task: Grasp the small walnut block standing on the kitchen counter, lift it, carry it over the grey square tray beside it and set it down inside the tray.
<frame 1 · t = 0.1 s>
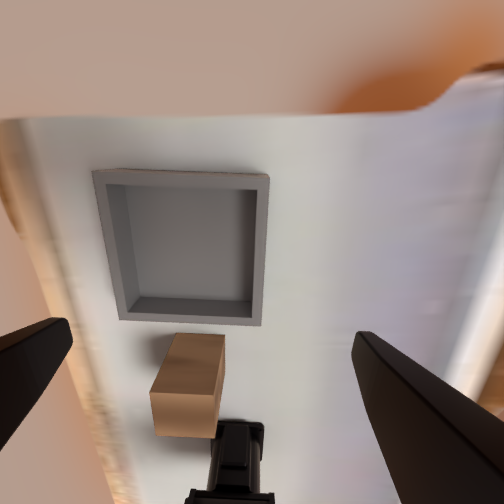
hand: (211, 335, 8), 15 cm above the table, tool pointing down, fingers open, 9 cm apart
grey square tray: (196, 242, 22), on the table
walnut block: (201, 352, 27), on the table
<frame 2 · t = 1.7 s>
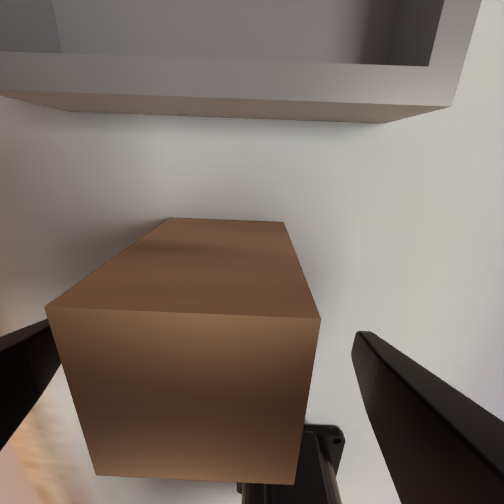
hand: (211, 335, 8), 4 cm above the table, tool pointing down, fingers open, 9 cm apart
walnut block: (226, 270, 12), on the table
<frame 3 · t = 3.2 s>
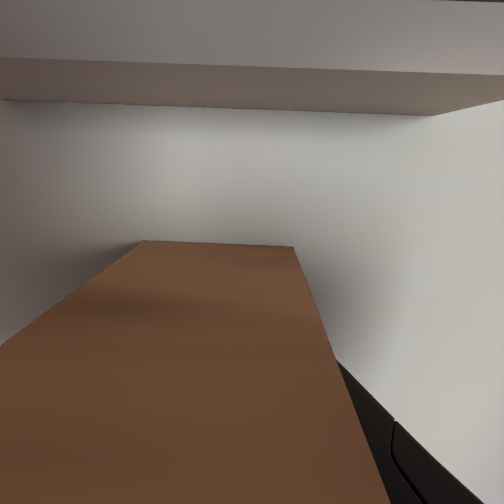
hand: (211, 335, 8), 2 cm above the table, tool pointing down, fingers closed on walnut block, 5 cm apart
walnut block: (218, 307, 9), on the table, touching gripper
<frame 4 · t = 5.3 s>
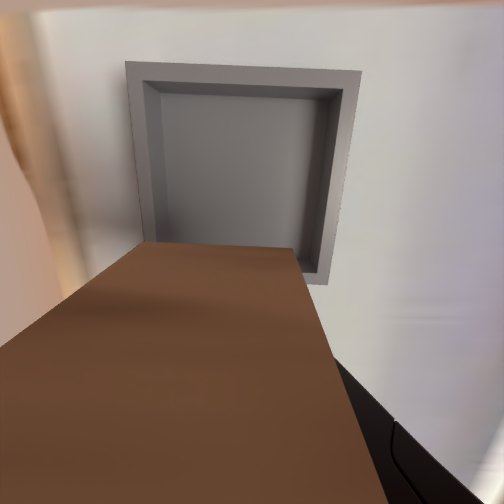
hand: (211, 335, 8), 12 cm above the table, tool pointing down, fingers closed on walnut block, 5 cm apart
grey square tray: (243, 183, 18), on the table
walnut block: (218, 308, 9), point 11 cm above the table, touching gripper
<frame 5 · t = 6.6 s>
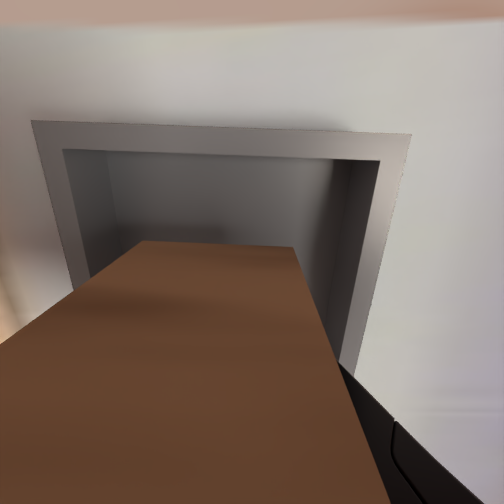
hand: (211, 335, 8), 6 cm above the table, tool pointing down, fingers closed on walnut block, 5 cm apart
grey square tray: (230, 259, 13), on the table
walnut block: (218, 307, 9), point 4 cm above the table, touching gripper
when the fingers open (4 cm above the table, at t = 7.7 s): walnut block drops 2 cm, resting on grey square tray.
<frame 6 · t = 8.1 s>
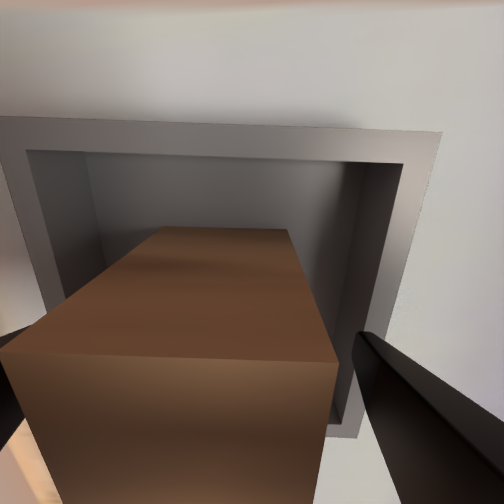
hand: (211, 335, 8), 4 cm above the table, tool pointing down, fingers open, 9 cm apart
grey square tray: (227, 272, 12), on the table
walnut block: (226, 282, 11), point 1 cm above the table, touching grey square tray
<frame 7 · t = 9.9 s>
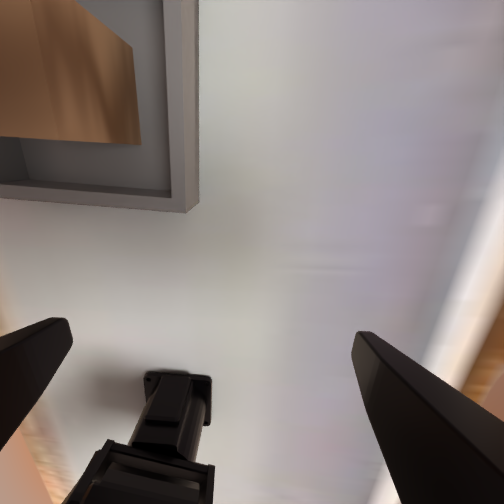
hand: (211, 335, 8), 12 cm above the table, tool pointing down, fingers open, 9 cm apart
grey square tray: (104, 99, 16), on the table
walnut block: (95, 96, 15), point 1 cm above the table, touching grey square tray
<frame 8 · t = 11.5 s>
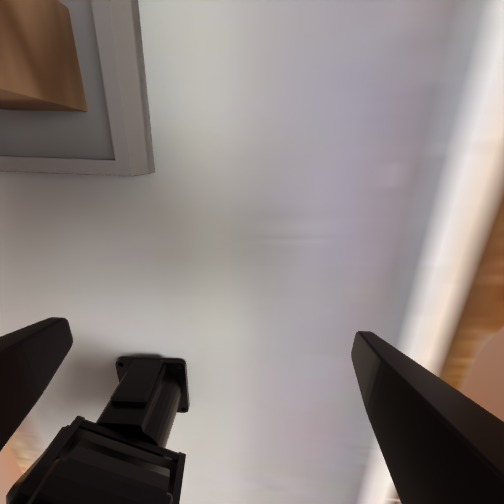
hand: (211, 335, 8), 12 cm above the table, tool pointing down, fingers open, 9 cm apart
grey square tray: (48, 67, 16), on the table
walnut block: (36, 62, 15), point 1 cm above the table, touching grey square tray
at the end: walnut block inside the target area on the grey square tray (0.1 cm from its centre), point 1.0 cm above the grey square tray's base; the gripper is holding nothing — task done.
